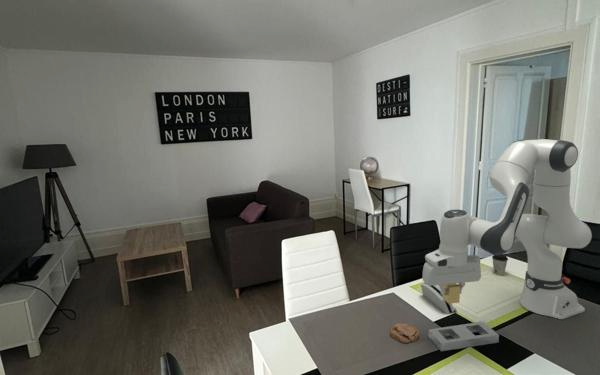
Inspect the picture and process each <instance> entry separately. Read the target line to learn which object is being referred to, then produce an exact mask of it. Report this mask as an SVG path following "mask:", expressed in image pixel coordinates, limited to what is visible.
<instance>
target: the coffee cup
mask: <svg viewBox="0 0 600 375" xmlns="http://www.w3.org/2000/svg"><path fill="white" fill-rule="evenodd" d="M491 258H492V265H493V266H492V267H493V275H495V276H501V277H503V276H505V273H506V268H507V264H508V260H509V258H508V256H507V255H506V254H505V253H504V254H501V255H493V254H492V257H491Z"/></svg>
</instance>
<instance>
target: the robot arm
mask: <svg viewBox="0 0 600 375" xmlns="http://www.w3.org/2000/svg"><path fill="white" fill-rule="evenodd" d="M578 156H579V150H578V147H577V146H576V144H574V143H573V142H572V141H568V140H562V139H560V140H556V139H549V138H548V139H547V138H546V139H545V138H539V139H519V140H514V141H512V142H511V143H510V144H509V146H507V148H506V149H505V150H504V151H503V152H502V153H501V155H500V156H499V158H498V159H497V161H496V162H495V163H494V165H493V167H492V168H491V170H490V172H489V176H488V177H489V183H490V184H491V186H492V187H493V189H494V190H496V191H497V192H499V194H501V195H502V196H504V197H506V202H505V205H504V206H503V209H502V211H501V215H500V217H499V219H498V220H497V221H495V222H493V221H489V220H486V219H483V218H480V217H475V216H474V215H471V214H469V213H468V212H467V211H466V210H463V209H450V210H447V211H445V212H443V214H442V217H441V221H440V228H439V236H440V237H439V238H440V243H439V246H438V247H439V248H438V249H436V250H434V251H432V252H431V251H430V252H429V253H427V254H426V255H425V256H424V258H425V263H424V265H423V268H422V275H421V276H422V281H423V283H426V284H427V285H428V286H434V285H437V286H438V287H439V288H440V289H441V291H440V293H441V295H443V296H444V295H447V290H445V289H444V288H443V287H445V284H454V283H456V284H458V285H459V286H460V295H461V294H462V291H463V288H464V287H465V286H466V283H472V282H479V281H480V280H481V278H482V271H481V270H482V268H481V258H480V256H478V255H477V254H469V255H468V251H469V249H468V246H469V245H470V246H473V247H476V248H479V249H481V250H483V251H485V252H487V253H489V254H491V255H492V256H493V255H501V254H504V255H505V253H508V252H510V250H511V249H512V248H513V246H514V244H515V238H517V239H518V240H519V241H520V242H521V243H522V245H523V247H524V249H525V251H526V255H527V268H526V269H527V270H526V272H525V274H524V276H525V278H524V284H523V288H522V293H520V300H519V304H520V305H521V306H522V307H523V308H525V309H526V310H528V311H530V312H532V313H534V314H535V313H536V314H538V315H542V316H546V317H551V318H554V319H557V318H558V320H564V319H567V318H570V317H573V316H575V315H579V314H581V313H584V312H585V311H586V308H585V307H584V306H583V305H581V304H580V303H579V302H578V296H577V294H576V293H575V292H574V291H572V290H571V289H569V288H568V287H567V286H566V285H565V284H564V283H566V284H567V285H569V284H570V283H571V279H570V278H568V277H565V276H564V277H562V272H563V260H562V258H561V257H560V255H558V254H557V253H556V252H554V251H553V250H551V249H550V248H549V247H548V246H547V244H548V245H552V246H556V247H561V248H567V249H569V248H570V249H583V248H585V247H587V246H588V245H589V244H590V242H591V240H592V237H593V235H592V231H591V229H590V226H588V224H587V223H585V222H583V221H582V220H581V219H580V218H579V217H578V216H577V215H576V214H575V212H574V211H573V208H572V206H571V198H570V196H571V179H572V178H571V175H572V174H571V168H572V167H573V166H574V165H575V164H576V162H577V161H578ZM533 170H535V172H534V177H533V178H534V179H533V189H532V200H533V202H534V204H535V205H536V206H537V207H539V208H541V209H542V210H544V211H545V212H546V213H547V214H548V215H549V216H548V215H543V214H541V215H540V214H533V213H524V211H525V208H526V206H527V202H528V200H529V195H530V187H529V186H528V185H527V181H528V179H529V177H530V176H531V174H532V171H533Z"/></svg>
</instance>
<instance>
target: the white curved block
mask: <svg viewBox="0 0 600 375" xmlns="http://www.w3.org/2000/svg"><path fill="white" fill-rule="evenodd" d="M420 288H421V292H422V295H423V296H424V297H425V298H426V299H428V300H429V302H431V303H433V304H434V305H435V306H437V308H438V309H440V310H441V311H442V312H444V313H445V314H446V315H450V313H451V312H452V313H454V312H455V313H458V310H457V308H456V307H455V306H454V305H453V303H450V304H448V303H447V302H446V301H445V300H444V299H443V298H442V295H441V293H440V291H441V289H440V288H439V286H438V285H434V286H428V285H427V284H426V283H425V282H422V283H421V284H420Z"/></svg>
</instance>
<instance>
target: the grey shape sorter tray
mask: <svg viewBox="0 0 600 375" xmlns="http://www.w3.org/2000/svg"><path fill="white" fill-rule="evenodd" d="M474 333H478V334H479V335H477V334H476V335H475V334H474ZM446 337H451V338H450V339H446ZM428 339H430V340H431V341H432V342H433V343H434V345H435V346H436V347H437V348H438V350H440V352H446V351H453V350H458V349H459V350H460V349H465V348H472V347H478V346H484V345H489V344H490V345H491V344H497V343H499V342H500V341H499V339H500V334H499V333H498V332H496V331H495V330H494V329H492V327H490V326H489V325H487V324H486V323H485V322H484V321H480V322H471V323H465V324H463V323H462V324H458V325H450V326H444V327H437V328H431V329H428Z"/></svg>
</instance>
